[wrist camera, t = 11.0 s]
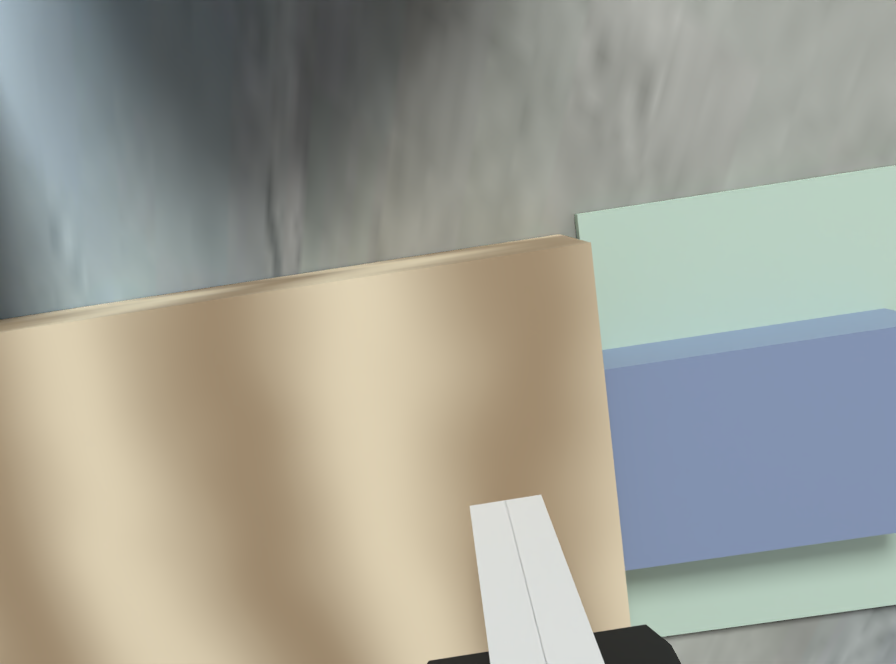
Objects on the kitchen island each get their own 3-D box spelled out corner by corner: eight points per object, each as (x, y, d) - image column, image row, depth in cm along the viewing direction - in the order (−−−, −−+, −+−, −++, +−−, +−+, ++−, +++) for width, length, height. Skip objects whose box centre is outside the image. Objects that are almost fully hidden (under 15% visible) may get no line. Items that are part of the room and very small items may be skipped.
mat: (619, 634, 21) (623, 642, 21) (574, 214, 18) (576, 214, 18) (1010, 579, 21) (1021, 587, 20) (1025, 145, 18) (1038, 143, 18)
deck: (78, 695, 21) (-5, 807, 17) (-39, 325, 19) (-167, 357, 15) (603, 622, 21) (640, 719, 17) (559, 234, 18) (591, 242, 14)
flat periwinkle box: (601, 535, 20) (618, 571, 18) (581, 353, 19) (597, 370, 17) (886, 494, 20) (935, 527, 18) (884, 308, 18) (937, 320, 16)
